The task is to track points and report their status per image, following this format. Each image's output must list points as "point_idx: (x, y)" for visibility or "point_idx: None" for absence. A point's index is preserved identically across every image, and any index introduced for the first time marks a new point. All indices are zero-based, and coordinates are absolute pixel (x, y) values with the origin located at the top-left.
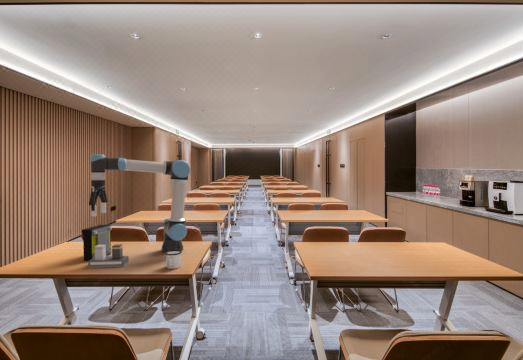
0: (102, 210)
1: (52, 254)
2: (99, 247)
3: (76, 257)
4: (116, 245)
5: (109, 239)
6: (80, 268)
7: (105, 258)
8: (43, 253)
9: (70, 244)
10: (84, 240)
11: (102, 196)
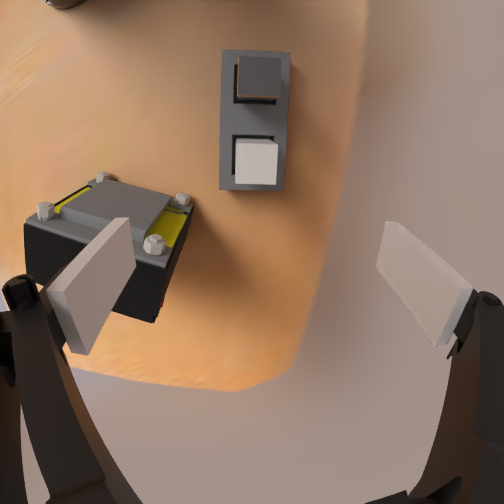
0: (123, 265)
1: (126, 353)
2: (276, 159)
3: None
4: (265, 77)
5: (84, 192)
6: (282, 210)
7: (253, 134)
8: (122, 372)
9: None
10: (170, 277)
11: (93, 442)
